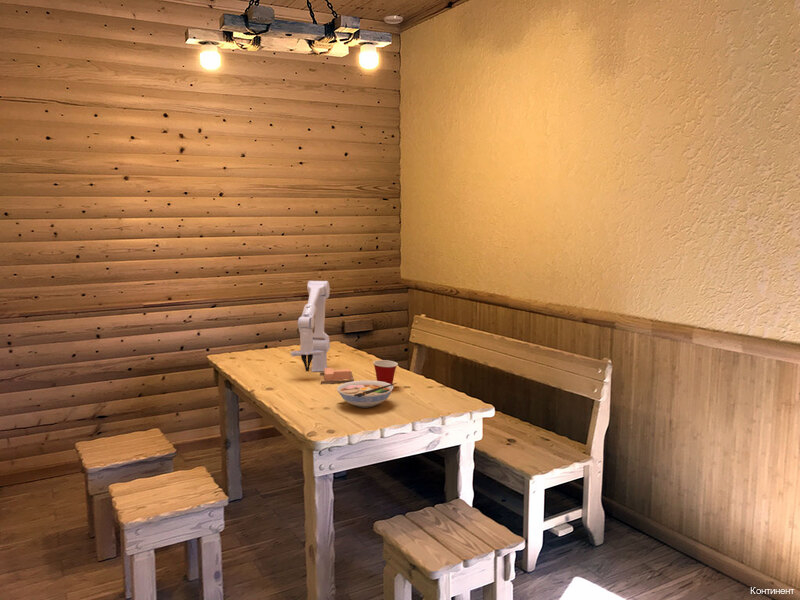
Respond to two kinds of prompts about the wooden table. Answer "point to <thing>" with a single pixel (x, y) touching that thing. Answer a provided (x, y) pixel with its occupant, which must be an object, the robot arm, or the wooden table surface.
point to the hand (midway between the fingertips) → (307, 370)
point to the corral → (336, 380)
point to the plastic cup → (385, 370)
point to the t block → (336, 374)
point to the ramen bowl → (365, 392)
